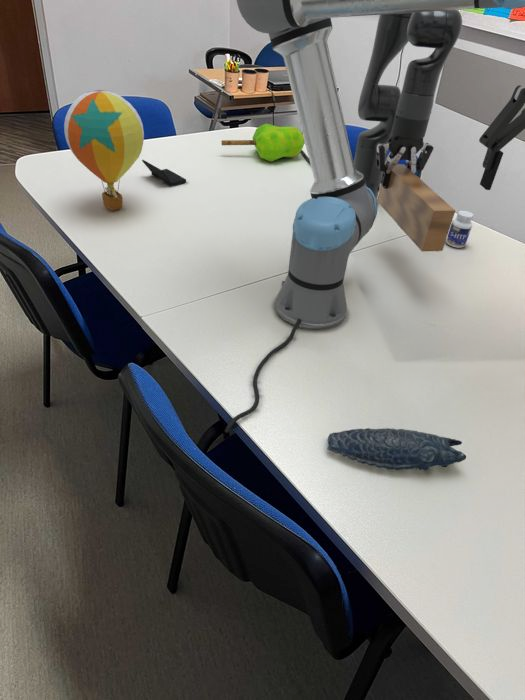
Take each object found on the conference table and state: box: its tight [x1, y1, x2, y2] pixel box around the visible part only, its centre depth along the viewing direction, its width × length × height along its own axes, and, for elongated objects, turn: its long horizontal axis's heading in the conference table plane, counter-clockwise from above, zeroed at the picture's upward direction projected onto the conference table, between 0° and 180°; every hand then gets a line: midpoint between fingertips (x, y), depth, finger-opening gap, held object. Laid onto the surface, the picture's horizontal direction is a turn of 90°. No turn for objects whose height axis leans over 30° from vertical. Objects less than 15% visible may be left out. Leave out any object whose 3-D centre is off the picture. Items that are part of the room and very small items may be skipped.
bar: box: [377, 163, 456, 253], centre depth 119 cm, size 26×5×9 cm, turn 12°
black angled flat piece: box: [141, 159, 187, 187], centre depth 162 cm, size 12×7×10 cm
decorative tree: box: [221, 123, 305, 163], centre depth 185 cm, size 18×10×30 cm
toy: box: [63, 89, 145, 212], centre depth 136 cm, size 20×20×30 cm
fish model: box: [326, 427, 467, 471], centre depth 80 cm, size 7×21×5 cm, turn 84°
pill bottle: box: [445, 210, 474, 249], centre depth 141 cm, size 5×5×9 cm
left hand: (519, 188), depth 94 cm, fingers open, 13 cm apart
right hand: (394, 186), depth 127 cm, fingers closed on bar, 5 cm apart
